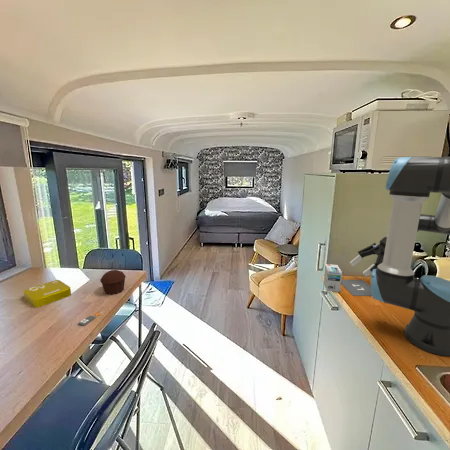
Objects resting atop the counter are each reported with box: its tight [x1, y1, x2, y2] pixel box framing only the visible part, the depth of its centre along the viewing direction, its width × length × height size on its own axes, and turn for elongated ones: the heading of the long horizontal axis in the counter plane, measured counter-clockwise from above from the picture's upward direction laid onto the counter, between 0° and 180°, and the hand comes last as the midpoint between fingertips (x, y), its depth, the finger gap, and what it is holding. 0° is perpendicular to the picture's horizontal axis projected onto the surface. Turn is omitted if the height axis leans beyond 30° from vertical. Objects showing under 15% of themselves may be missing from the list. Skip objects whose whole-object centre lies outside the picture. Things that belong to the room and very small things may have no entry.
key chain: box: [77, 311, 104, 327], centre depth 105 cm, size 13×4×2 cm, turn 161°
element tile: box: [23, 279, 72, 308], centre depth 120 cm, size 15×15×5 cm
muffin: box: [99, 269, 127, 296], centre depth 126 cm, size 12×11×10 cm
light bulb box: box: [323, 263, 343, 293], centre depth 133 cm, size 11×7×11 cm, turn 168°
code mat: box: [341, 279, 372, 297], centre depth 134 cm, size 18×14×1 cm
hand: (357, 269), depth 131 cm, fingers open, 13 cm apart
